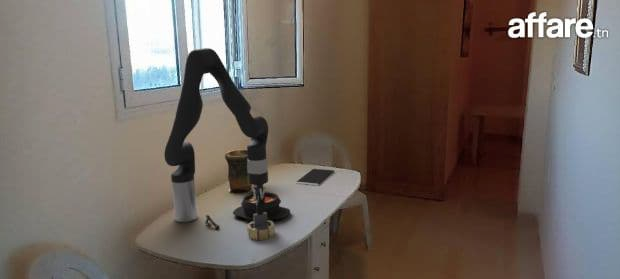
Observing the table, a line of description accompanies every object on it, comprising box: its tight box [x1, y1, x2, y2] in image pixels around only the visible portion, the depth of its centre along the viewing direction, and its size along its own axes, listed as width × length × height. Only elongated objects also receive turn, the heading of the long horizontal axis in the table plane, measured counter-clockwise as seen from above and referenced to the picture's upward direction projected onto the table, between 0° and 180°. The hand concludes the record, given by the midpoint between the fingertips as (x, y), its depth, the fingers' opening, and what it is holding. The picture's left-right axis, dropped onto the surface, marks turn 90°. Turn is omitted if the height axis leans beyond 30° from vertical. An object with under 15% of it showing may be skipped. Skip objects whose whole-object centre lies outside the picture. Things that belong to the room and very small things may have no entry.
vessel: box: [224, 148, 253, 196], centre depth 220 cm, size 14×14×20 cm
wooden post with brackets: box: [205, 214, 220, 230], centre depth 177 cm, size 2×8×4 cm, turn 48°
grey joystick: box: [252, 212, 269, 229], centre depth 167 cm, size 6×6×6 cm
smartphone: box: [295, 168, 335, 187], centre depth 240 cm, size 13×27×2 cm, turn 159°
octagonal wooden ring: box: [246, 219, 276, 241], centre depth 168 cm, size 10×10×4 cm
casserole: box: [232, 191, 291, 221], centre depth 186 cm, size 25×19×8 cm
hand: (260, 213), depth 166 cm, fingers closed
